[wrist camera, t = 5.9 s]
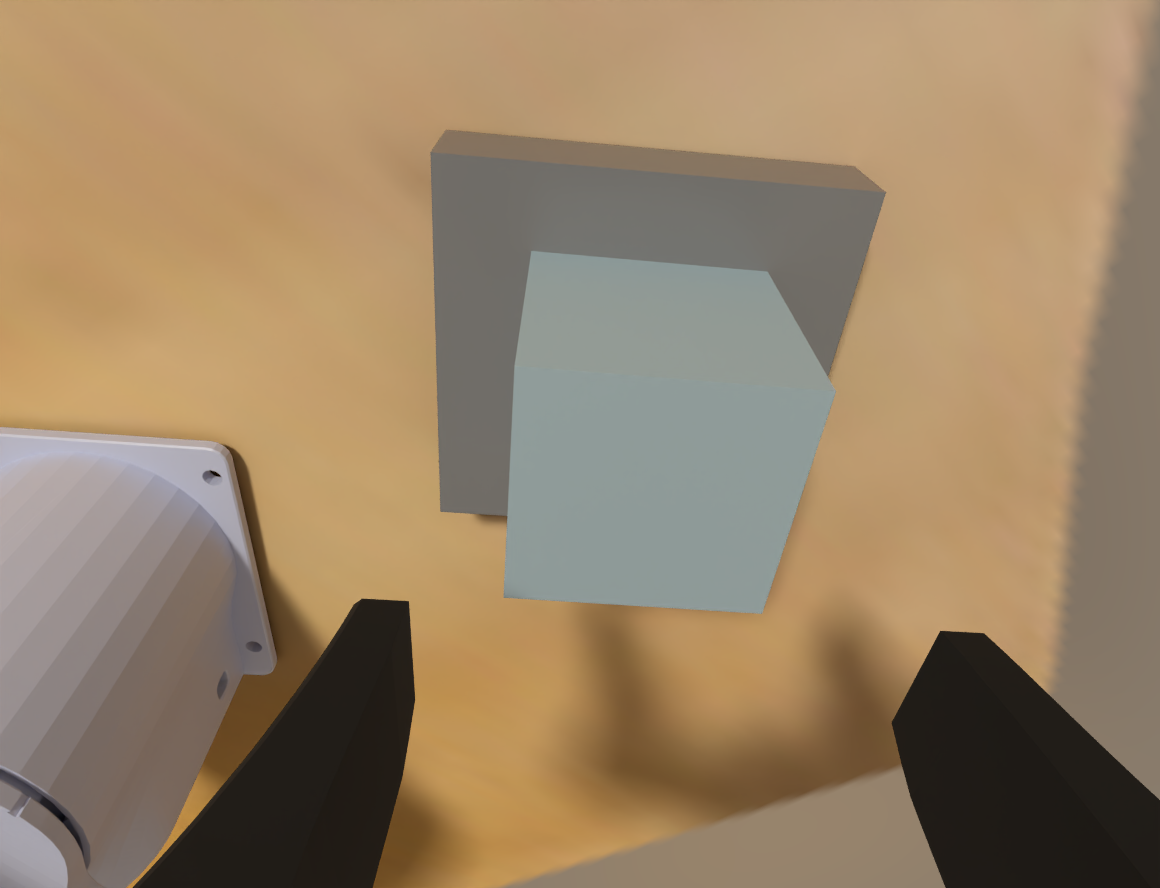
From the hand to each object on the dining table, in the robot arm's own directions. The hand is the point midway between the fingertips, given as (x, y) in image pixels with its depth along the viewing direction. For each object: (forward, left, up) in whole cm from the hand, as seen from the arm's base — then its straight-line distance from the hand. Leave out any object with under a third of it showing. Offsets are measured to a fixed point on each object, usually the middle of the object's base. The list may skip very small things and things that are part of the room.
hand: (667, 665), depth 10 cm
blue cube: (0, 0, -8) cm, 8 cm away
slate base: (0, 0, -10) cm, 10 cm away
